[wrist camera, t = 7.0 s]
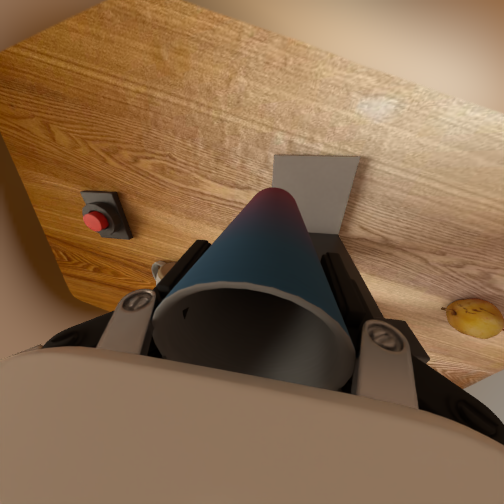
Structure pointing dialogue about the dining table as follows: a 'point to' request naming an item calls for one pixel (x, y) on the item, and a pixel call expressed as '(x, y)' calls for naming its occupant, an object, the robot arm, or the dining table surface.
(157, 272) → the ceramic mug
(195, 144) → the dining table surface
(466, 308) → the fruit
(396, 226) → the dining table surface
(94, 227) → the button
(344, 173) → the coffee maker
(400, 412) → the robot arm
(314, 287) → the cup
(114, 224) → the pad
